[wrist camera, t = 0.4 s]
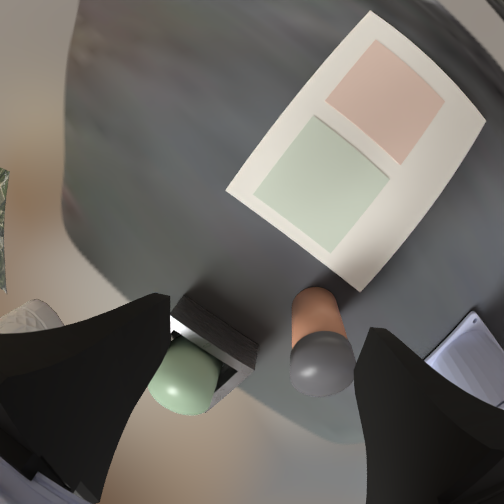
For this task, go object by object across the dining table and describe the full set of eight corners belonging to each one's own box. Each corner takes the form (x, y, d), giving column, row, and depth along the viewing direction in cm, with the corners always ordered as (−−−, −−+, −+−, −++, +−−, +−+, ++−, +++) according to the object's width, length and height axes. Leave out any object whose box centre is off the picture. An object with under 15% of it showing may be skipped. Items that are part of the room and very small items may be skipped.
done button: (233, 358, 20) (223, 396, 16) (204, 387, 21) (191, 422, 18) (183, 324, 19) (162, 359, 16) (158, 357, 21) (138, 390, 17)
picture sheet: (481, 121, 14) (486, 120, 13) (358, 288, 19) (360, 293, 18) (368, 14, 13) (370, 10, 12) (227, 189, 18) (225, 190, 17)
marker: (347, 303, 19) (370, 368, 13) (316, 335, 20) (324, 404, 14) (311, 276, 19) (322, 336, 12) (280, 311, 20) (275, 378, 13)
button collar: (258, 345, 21) (254, 370, 18) (213, 388, 23) (205, 412, 20) (183, 294, 20) (169, 314, 18) (148, 346, 23) (133, 368, 20)
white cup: (17, 289, 23) (-42, 331, 14) (59, 297, 22) (-10, 351, 13) (39, 348, 26) (-9, 394, 16) (82, 362, 25) (32, 421, 15)
